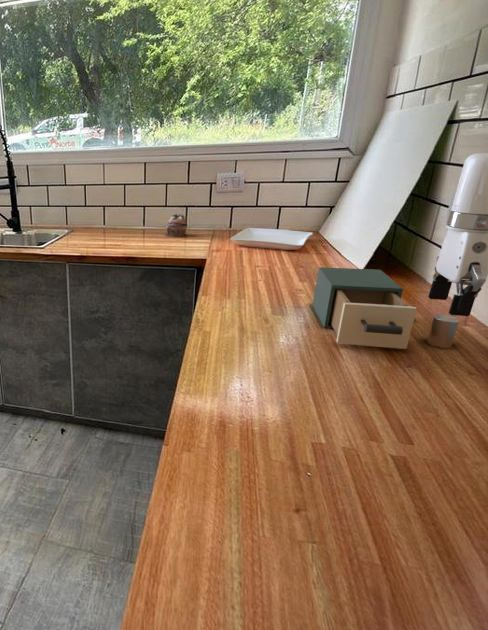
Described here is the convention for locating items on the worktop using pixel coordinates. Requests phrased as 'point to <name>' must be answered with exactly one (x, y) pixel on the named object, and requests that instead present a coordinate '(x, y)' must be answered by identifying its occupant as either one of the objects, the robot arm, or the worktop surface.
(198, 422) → the worktop surface
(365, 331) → the drawer
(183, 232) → the cupcake
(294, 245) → the square plate
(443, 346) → the steel cylinder
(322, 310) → the cabinet
